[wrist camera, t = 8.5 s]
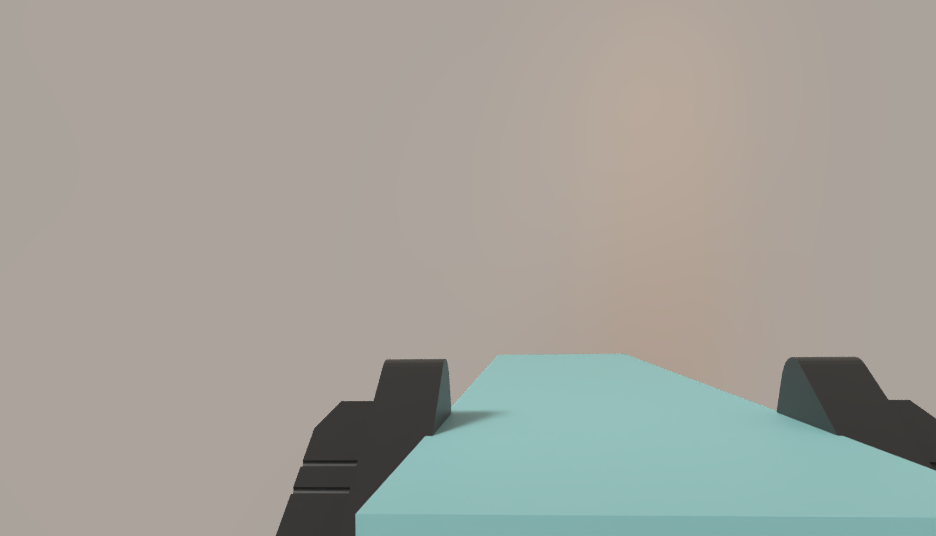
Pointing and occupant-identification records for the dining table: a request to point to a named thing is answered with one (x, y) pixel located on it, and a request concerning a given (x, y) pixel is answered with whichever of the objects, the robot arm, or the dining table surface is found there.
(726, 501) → the block
